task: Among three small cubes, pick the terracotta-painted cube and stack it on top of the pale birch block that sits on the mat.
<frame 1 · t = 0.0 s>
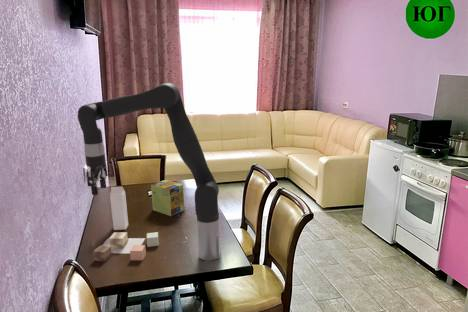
hand: (99, 191, 153), 29 cm above the table, fingers open, 8 cm apart
terracotta block: (138, 258, 156), on the table
sage block: (153, 245, 168), on the table
walnut block: (103, 259, 156), on the table
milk: (121, 228, 186), on the table
protein box: (168, 210, 207), on the table
birch block: (119, 245, 167), point 1 cm above the table, touching mat
mat: (121, 246, 167), on the table
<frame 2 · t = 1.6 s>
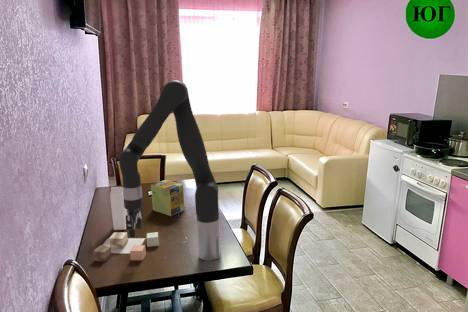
hand: (135, 232, 153), 12 cm above the table, fingers open, 8 cm apart
nothing on the table moved.
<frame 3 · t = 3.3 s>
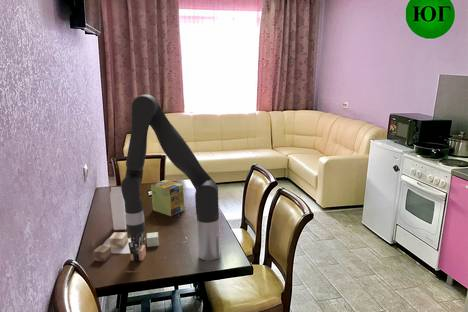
hand: (138, 257, 156), 0 cm above the table, fingers closed on terracotta block, 5 cm apart
terracotta block: (138, 258, 156), on the table, touching gripper
everything else where it was.
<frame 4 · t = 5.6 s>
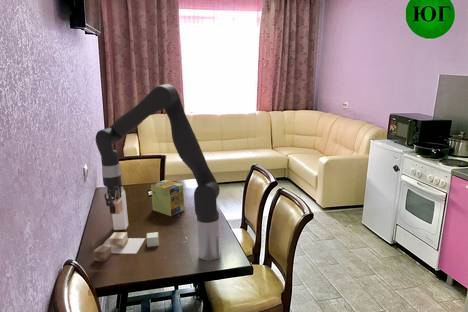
hand: (115, 210, 162), 18 cm above the table, fingers closed on terracotta block, 5 cm apart
terracotta block: (115, 211, 162), point 17 cm above the table, touching gripper
everything else where it was.
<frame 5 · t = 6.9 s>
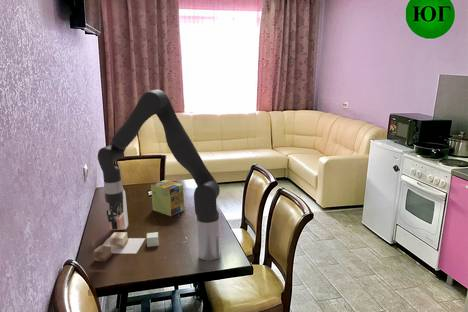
hand: (117, 226, 164), 10 cm above the table, fingers closed on terracotta block, 5 cm apart
terracotta block: (117, 227, 164), point 10 cm above the table, touching gripper
everything else where it was.
when the fingers open (7 cm above the table, at t = 7.9 s): terracotta block stays where it is, resting on birch block.
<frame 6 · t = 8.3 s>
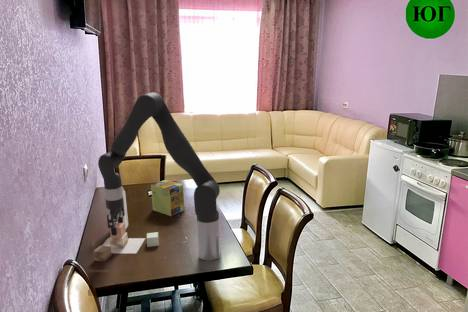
hand: (117, 230, 165), 8 cm above the table, fingers open, 8 cm apart
terracotta block: (118, 235, 165), point 6 cm above the table, touching birch block
birch block: (119, 245, 167), point 1 cm above the table, touching mat, terracotta block
everything else where it was.
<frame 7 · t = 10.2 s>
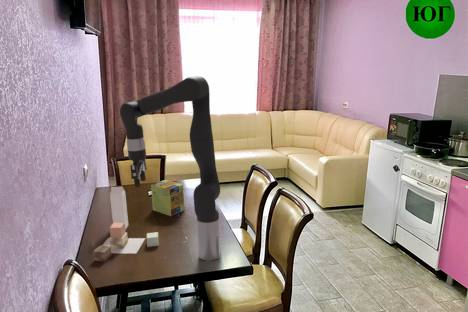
hand: (140, 183, 163), 29 cm above the table, fingers open, 8 cm apart
nothing on the table moved.
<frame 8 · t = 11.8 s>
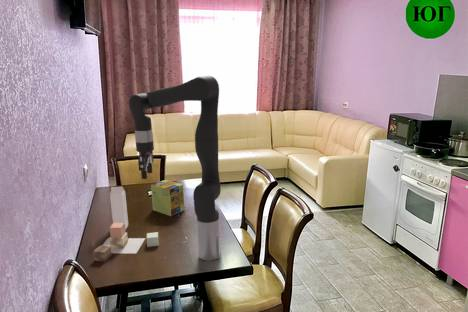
hand: (147, 175, 163), 32 cm above the table, fingers open, 8 cm apart
nothing on the table moved.
at the end: terracotta block 0.0 cm off-centre on the birch block, point 5.0 cm above the birch block's base; terracotta block touching birch block; the gripper is holding nothing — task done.
